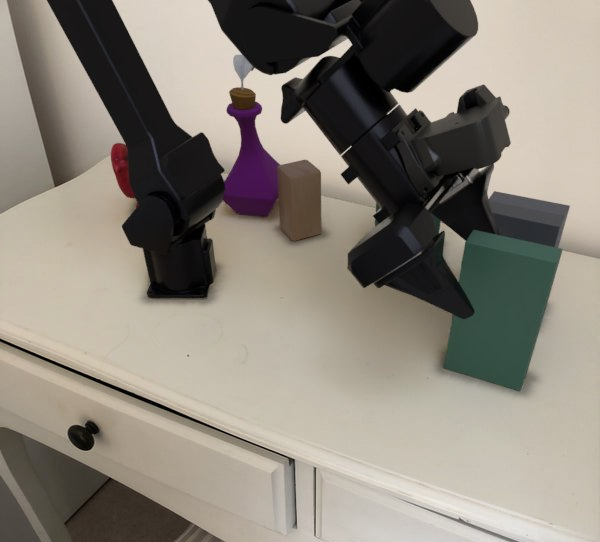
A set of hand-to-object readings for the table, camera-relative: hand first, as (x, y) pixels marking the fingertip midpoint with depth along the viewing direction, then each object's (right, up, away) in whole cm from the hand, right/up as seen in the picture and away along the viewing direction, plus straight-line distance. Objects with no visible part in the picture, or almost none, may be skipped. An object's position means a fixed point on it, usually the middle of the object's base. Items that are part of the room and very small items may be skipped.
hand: (486, 286), depth 53 cm
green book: (+1, -7, +6) cm, 9 cm away
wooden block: (-15, +11, +25) cm, 32 cm away
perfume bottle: (-21, +15, +30) cm, 40 cm away
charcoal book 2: (+5, -1, +12) cm, 13 cm away
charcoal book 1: (+6, +1, +13) cm, 15 cm away
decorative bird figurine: (-36, +17, +33) cm, 52 cm away
